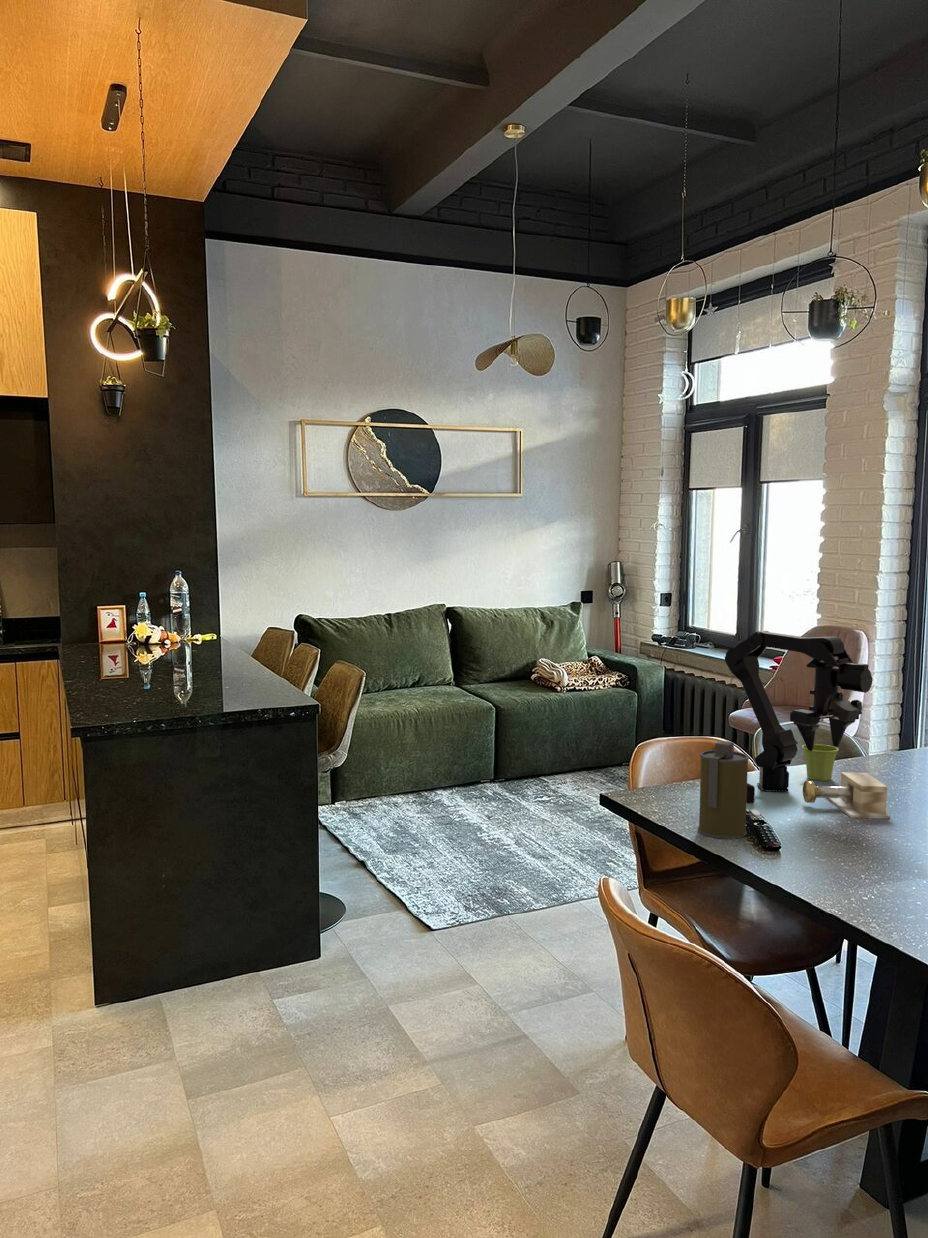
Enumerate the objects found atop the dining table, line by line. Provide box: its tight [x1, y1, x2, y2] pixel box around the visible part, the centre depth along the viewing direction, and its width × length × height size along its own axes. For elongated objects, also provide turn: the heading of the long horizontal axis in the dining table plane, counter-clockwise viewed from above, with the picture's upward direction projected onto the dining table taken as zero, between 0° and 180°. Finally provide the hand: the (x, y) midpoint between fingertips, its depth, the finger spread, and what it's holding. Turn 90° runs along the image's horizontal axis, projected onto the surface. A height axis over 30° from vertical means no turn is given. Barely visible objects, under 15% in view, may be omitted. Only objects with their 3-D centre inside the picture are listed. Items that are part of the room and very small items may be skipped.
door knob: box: [802, 780, 854, 804], centre depth 220 cm, size 16×5×5 cm, turn 87°
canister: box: [697, 740, 750, 840], centre depth 200 cm, size 11×10×20 cm
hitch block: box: [826, 771, 891, 820], centre depth 220 cm, size 9×18×7 cm, turn 177°
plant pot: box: [801, 743, 840, 782], centre depth 248 cm, size 9×9×9 cm
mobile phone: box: [746, 782, 756, 804], centre depth 230 cm, size 5×3×15 cm
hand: (823, 748), depth 226 cm, fingers open, 9 cm apart
